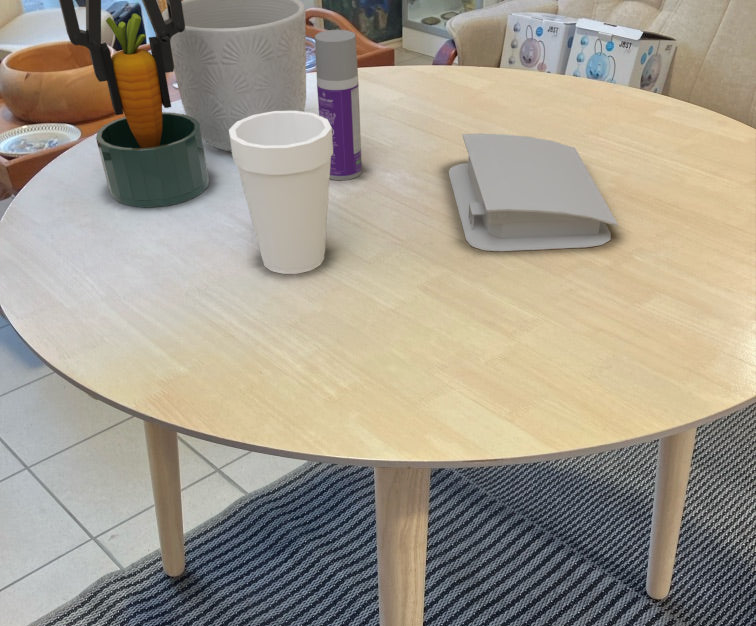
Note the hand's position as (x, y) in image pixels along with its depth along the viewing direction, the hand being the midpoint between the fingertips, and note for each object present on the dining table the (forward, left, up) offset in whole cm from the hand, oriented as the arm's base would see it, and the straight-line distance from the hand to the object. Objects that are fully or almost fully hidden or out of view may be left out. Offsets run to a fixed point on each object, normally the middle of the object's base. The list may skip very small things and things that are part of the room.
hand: (141, 106), depth 95 cm
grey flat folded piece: (+43, 0, -9) cm, 44 cm away
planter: (+7, +15, -9) cm, 19 cm away
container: (+21, +6, -9) cm, 24 cm away
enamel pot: (0, 0, -9) cm, 9 cm away
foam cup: (+20, -16, -9) cm, 27 cm away
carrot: (0, 0, -6) cm, 6 cm away
